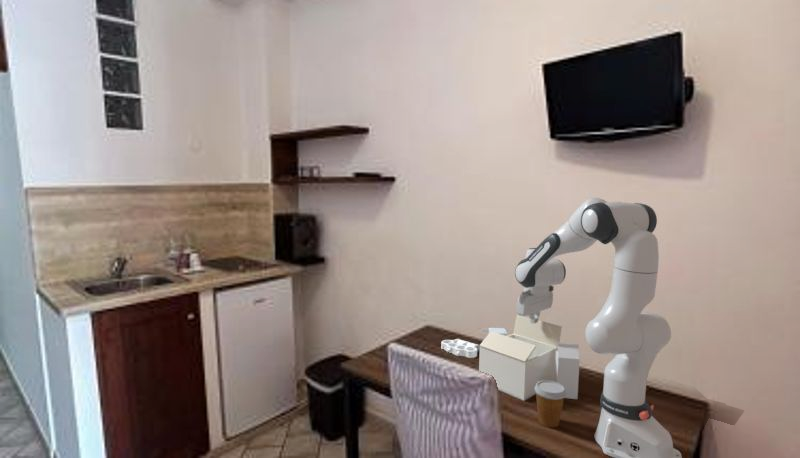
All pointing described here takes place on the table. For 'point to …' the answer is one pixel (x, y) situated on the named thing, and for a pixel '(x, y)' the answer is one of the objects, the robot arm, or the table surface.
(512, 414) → the table surface
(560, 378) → the milk carton
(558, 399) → the disposable coffee cup
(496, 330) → the supplement box
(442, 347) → the knuckle duster
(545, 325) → the far flap
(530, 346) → the near flap
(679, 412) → the table surface
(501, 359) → the carton
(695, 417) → the table surface
